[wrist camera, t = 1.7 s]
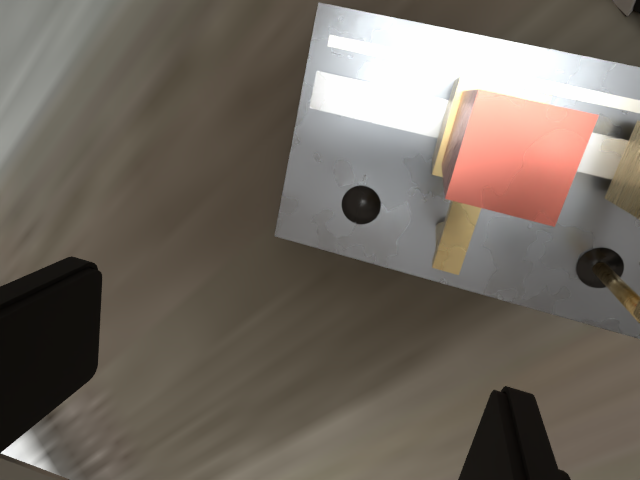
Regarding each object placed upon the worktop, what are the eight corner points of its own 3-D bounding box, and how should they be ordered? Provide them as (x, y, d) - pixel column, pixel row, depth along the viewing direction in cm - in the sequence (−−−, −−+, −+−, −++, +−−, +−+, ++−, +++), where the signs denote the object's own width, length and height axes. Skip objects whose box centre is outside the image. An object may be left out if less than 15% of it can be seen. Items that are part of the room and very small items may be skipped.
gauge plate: (656, 336, 29) (743, 431, 21) (279, 231, 32) (228, 277, 24) (777, 98, 24) (953, 100, 16) (323, 6, 28) (277, -31, 19)
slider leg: (470, 242, 28) (503, 378, 15) (411, 227, 28) (391, 344, 15) (520, 95, 25) (617, 97, 12) (453, 81, 25) (475, 66, 12)
